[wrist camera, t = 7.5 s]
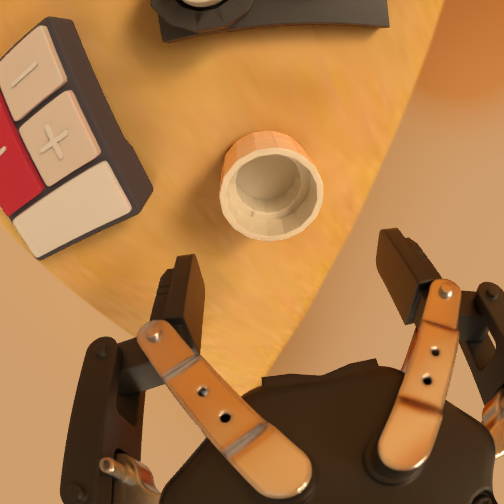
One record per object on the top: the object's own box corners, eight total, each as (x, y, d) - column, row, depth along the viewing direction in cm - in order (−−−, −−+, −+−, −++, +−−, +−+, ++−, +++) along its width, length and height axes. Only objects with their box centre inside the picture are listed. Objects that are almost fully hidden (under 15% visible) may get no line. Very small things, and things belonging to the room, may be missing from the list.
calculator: (43, 12, 10) (139, 218, 18) (75, 17, 13) (156, 191, 21) (-50, 111, 12) (33, 268, 20) (-16, 99, 15) (56, 239, 23)
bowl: (229, 212, 23) (229, 247, 19) (215, 135, 19) (211, 156, 16) (309, 201, 23) (323, 234, 19) (304, 124, 19) (321, 143, 16)
